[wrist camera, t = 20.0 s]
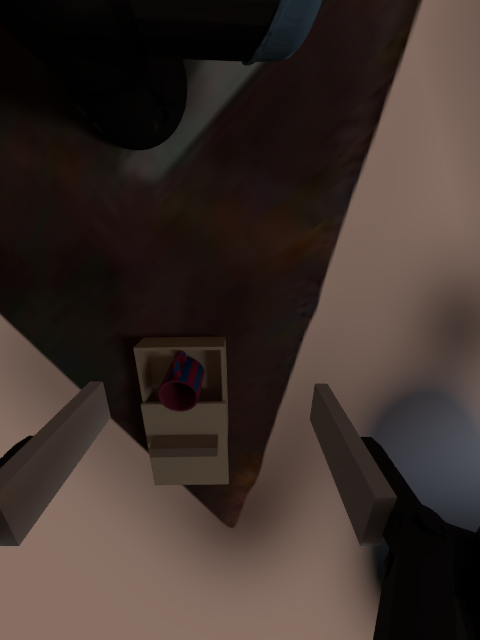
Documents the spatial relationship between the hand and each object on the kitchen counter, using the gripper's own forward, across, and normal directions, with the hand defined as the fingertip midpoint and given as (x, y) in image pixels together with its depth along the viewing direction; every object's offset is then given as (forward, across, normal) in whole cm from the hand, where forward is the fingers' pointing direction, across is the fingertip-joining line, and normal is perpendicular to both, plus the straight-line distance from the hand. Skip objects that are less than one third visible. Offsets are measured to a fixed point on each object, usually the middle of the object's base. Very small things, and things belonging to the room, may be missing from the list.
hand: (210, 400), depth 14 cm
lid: (+22, -8, -28) cm, 37 cm away
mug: (+26, -8, -13) cm, 30 cm away
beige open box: (+27, -8, -18) cm, 33 cm away
